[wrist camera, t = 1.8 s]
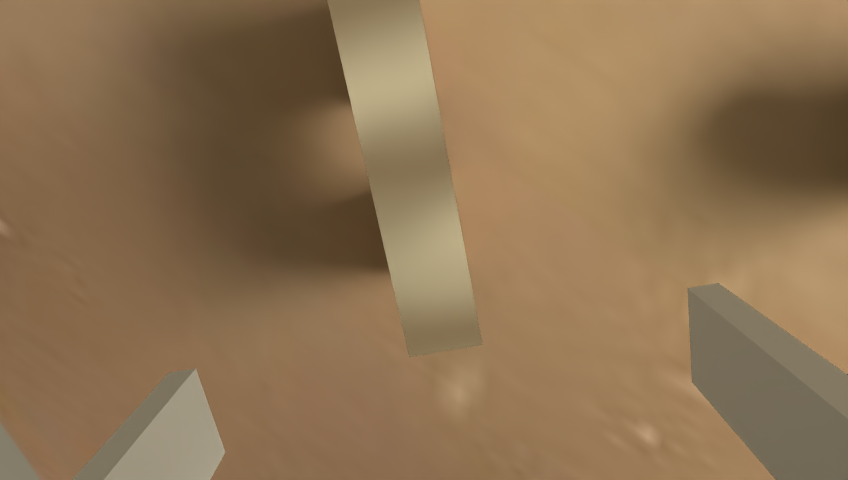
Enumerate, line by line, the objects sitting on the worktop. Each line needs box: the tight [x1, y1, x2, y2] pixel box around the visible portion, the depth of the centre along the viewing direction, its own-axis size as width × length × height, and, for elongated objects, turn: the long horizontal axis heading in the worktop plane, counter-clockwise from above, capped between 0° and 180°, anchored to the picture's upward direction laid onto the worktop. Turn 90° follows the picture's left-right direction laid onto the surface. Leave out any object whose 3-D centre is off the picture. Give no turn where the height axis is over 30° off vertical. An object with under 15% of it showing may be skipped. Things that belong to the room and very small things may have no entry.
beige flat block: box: [327, 0, 482, 357], centre depth 24 cm, size 15×3×10 cm, turn 11°
